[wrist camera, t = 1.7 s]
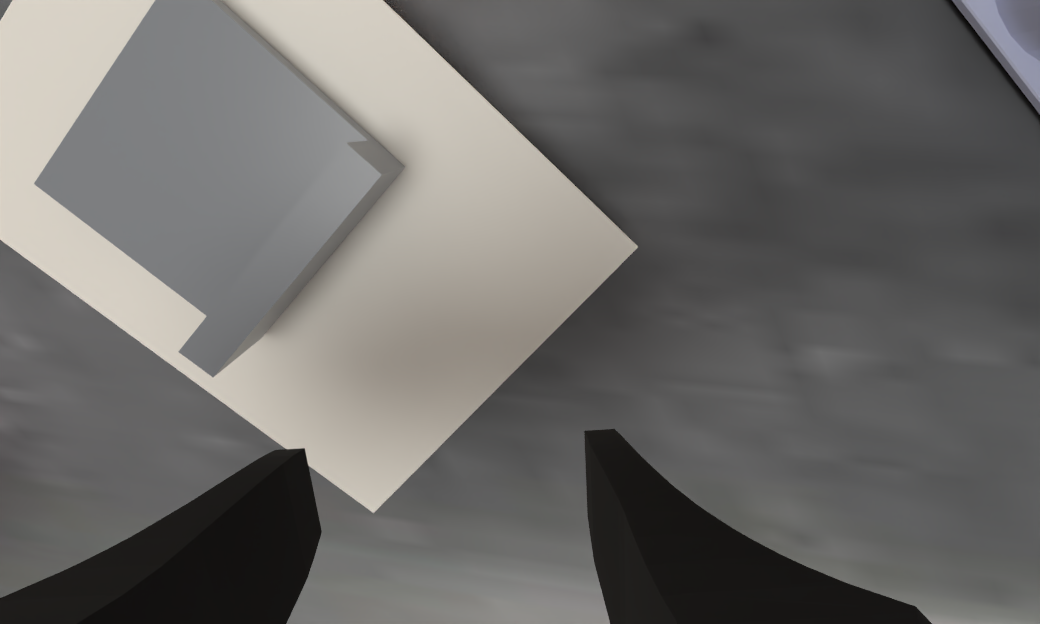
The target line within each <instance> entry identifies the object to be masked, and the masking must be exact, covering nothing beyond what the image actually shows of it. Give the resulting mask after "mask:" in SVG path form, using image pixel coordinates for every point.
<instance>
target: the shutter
mask: <svg viewBox="0 0 1040 624" xmlns="http://www.w3.org/2000/svg"><path fill="white" fill-rule="evenodd" d="M404 168H405V166H404V165H403V164H402V163H401V162H400V161H399V160H397V159H396V158H395V157H394V156H393V155H392V154H391V153H390V152H389V151H387V150H386V149H385V148H384V147H383V146H382V145H381V144H380V143H379V142H377V141H376V140H375V139H374V138H373V137H372V136H371V135H370V134H369V133H367V132H366V131H365V130H364V129H363V128H362V127H361V126H360V125H359V124H357V123H356V122H355V121H354V120H353V119H352V118H351V117H350V116H349V115H347V114H346V113H345V112H344V111H343V110H342V109H341V108H340V107H339V106H337V105H336V104H335V103H334V102H333V101H332V100H331V99H330V98H329V97H327V96H326V95H325V94H324V93H323V92H322V91H321V90H320V89H319V88H317V87H316V86H315V85H314V84H313V83H312V82H311V81H310V80H309V79H307V78H306V77H305V76H304V75H303V74H302V73H301V72H300V71H299V70H297V69H296V68H295V67H294V66H293V65H292V64H291V63H290V62H289V61H287V60H286V59H285V58H284V57H283V56H282V55H281V54H280V53H279V52H277V51H276V50H275V49H274V48H273V47H272V46H271V45H270V44H269V43H267V42H266V41H265V40H264V39H263V38H262V37H261V36H260V35H259V34H257V33H256V32H255V31H254V30H253V29H252V28H251V27H250V26H249V25H247V24H246V23H245V22H244V21H243V20H242V19H241V18H240V17H239V16H237V15H236V14H235V13H234V12H233V11H232V10H231V9H230V8H229V7H227V6H226V5H225V4H224V3H223V2H222V1H221V0H155V1H154V3H153V4H152V6H151V7H150V9H149V10H148V12H147V13H146V15H145V16H144V18H143V19H142V21H141V22H140V24H139V25H138V27H137V28H136V30H135V32H134V33H133V35H132V36H131V38H130V39H129V41H128V42H127V44H126V45H125V47H124V48H123V50H122V51H121V53H120V54H119V56H118V57H117V59H116V60H115V62H114V63H113V65H112V66H111V68H110V69H109V71H108V72H107V74H106V75H105V77H104V78H103V80H102V81H101V83H100V84H99V86H98V87H97V89H96V90H95V92H94V93H93V95H92V96H91V98H90V100H89V101H88V103H87V104H86V106H85V107H84V109H83V110H82V112H81V113H80V115H79V116H78V118H77V119H76V121H75V122H74V124H73V125H72V127H71V128H70V130H69V131H68V133H67V134H66V136H65V137H64V139H63V140H62V142H61V143H60V145H59V146H58V148H57V149H56V151H55V152H54V154H53V155H52V157H51V158H50V160H49V161H48V163H47V164H46V166H45V168H44V169H43V171H42V172H41V174H40V175H39V177H38V178H37V180H36V181H35V183H34V184H35V185H36V186H37V187H38V188H40V189H41V190H42V191H44V192H45V193H46V194H48V195H49V196H50V197H52V198H53V199H54V200H56V201H57V202H58V203H59V204H61V205H62V206H63V207H65V208H66V209H67V210H69V211H70V212H71V213H73V214H74V215H75V216H76V217H78V218H79V219H80V220H82V221H83V222H84V223H86V224H87V225H88V226H90V227H91V228H92V229H93V230H95V231H96V232H97V233H99V234H100V235H101V236H103V237H104V238H105V239H107V240H108V241H109V242H111V243H112V244H113V245H114V246H116V247H117V248H118V249H120V250H121V251H122V252H124V253H125V254H126V255H128V256H129V257H130V258H131V259H133V260H134V261H135V262H137V263H138V264H139V265H141V266H142V267H143V268H145V269H146V270H147V271H148V272H150V273H151V274H152V275H154V276H155V277H156V278H158V279H159V280H160V281H162V282H163V283H164V284H166V285H167V286H168V287H169V288H171V289H172V290H173V291H175V292H176V293H177V294H179V295H180V296H181V297H183V298H184V299H185V300H186V301H188V302H189V303H190V304H192V305H193V306H194V307H196V308H197V309H198V310H200V311H201V312H202V313H203V314H205V315H206V316H207V317H206V318H205V319H204V320H203V322H202V323H201V324H200V325H199V326H198V328H197V329H196V330H195V331H194V333H193V334H192V335H191V336H190V338H189V339H188V340H187V341H186V343H185V344H184V345H183V346H182V348H181V349H180V350H179V351H178V352H179V353H180V354H182V355H183V356H185V357H186V358H187V359H189V360H190V361H191V362H193V363H194V364H195V365H197V366H198V367H199V368H201V369H202V370H203V371H205V372H206V373H207V374H209V375H210V376H212V377H215V376H216V375H217V374H218V373H219V372H221V371H222V370H223V369H224V368H226V367H227V366H228V365H229V364H230V363H232V362H233V361H234V360H235V359H237V358H238V357H239V356H240V355H241V354H243V353H244V352H245V351H246V350H248V349H249V348H250V347H251V346H253V345H254V344H255V343H256V342H257V341H259V340H260V339H261V338H262V337H263V336H264V334H265V333H266V332H267V331H268V330H269V329H270V327H271V326H272V325H273V324H274V323H275V321H276V320H277V319H278V318H279V317H280V315H281V314H282V313H283V312H284V311H285V310H286V308H287V307H288V306H289V305H290V304H291V302H292V301H293V300H294V299H295V298H296V296H297V295H298V294H299V293H300V292H301V290H302V289H303V288H304V287H305V286H306V285H307V283H308V282H309V281H310V280H311V279H312V277H313V276H314V275H315V274H316V273H317V271H318V270H319V269H320V268H321V267H322V265H323V264H324V263H325V262H326V261H327V260H328V258H329V257H330V256H331V255H332V254H333V252H334V251H335V250H336V249H337V248H338V246H339V245H340V244H341V243H342V242H343V241H344V239H345V238H346V237H347V236H348V235H349V233H350V232H351V231H352V230H353V229H354V227H355V226H356V225H357V224H358V223H359V221H360V220H361V219H362V218H363V217H364V216H365V214H366V213H367V212H368V211H369V210H370V208H371V207H372V206H373V205H374V204H375V202H376V201H377V200H378V199H379V198H380V196H381V195H382V194H383V193H384V192H385V191H386V189H387V188H388V187H389V186H390V185H391V183H392V182H393V181H394V180H395V179H396V177H397V176H398V175H399V174H400V173H401V172H402V170H403V169H404Z"/></svg>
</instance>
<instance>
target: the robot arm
mask: <svg viewBox="0 0 1040 624" xmlns="http://www.w3.org/2000/svg"><path fill="white" fill-rule="evenodd" d="M952 1H953V2H954V4H955V5H956V6H957V8H958V9H959V10H960V12H961V13H962V14H963V15H964V17H965V18H966V19H967V21H968V22H969V23H970V24H971V26H972V27H973V28H974V30H975V31H976V32H977V34H978V35H979V36H980V37H981V39H982V40H983V41H984V43H985V44H986V45H987V47H988V48H989V49H990V50H991V52H992V53H993V54H994V56H995V57H996V58H997V59H998V61H999V62H1000V63H1001V65H1002V66H1003V67H1004V69H1005V70H1006V71H1007V72H1008V74H1009V75H1010V76H1011V78H1012V79H1013V80H1014V82H1015V83H1016V84H1017V85H1018V87H1019V88H1020V89H1021V91H1022V92H1023V93H1024V95H1025V96H1026V97H1027V98H1028V100H1029V101H1030V102H1031V104H1032V105H1033V106H1034V107H1035V109H1036V110H1037V111H1038V113H1039V114H1040V0H952ZM585 456H586V482H587V508H588V521H589V528H590V536H591V543H592V550H593V557H594V562H595V566H596V570H597V574H598V578H599V582H600V586H601V589H602V593H603V597H604V601H605V605H606V608H607V612H608V616H609V620H610V624H932V623H931V622H930V621H929V620H928V619H927V618H926V617H925V616H924V615H923V614H922V613H921V612H920V611H919V610H918V609H917V607H915V606H912V605H909V604H906V603H903V602H900V601H897V600H894V599H892V598H889V597H886V596H883V595H880V594H877V593H874V592H871V591H868V590H865V589H862V588H859V587H856V586H853V585H850V584H847V583H845V582H842V581H840V580H837V579H835V578H832V577H830V576H828V575H825V574H823V573H821V572H818V571H816V570H813V569H811V568H809V567H806V566H804V565H802V564H800V563H797V562H795V561H793V560H791V559H789V558H787V557H785V556H782V555H780V554H778V553H777V552H775V551H773V550H771V549H769V548H767V547H765V546H763V545H761V544H759V543H758V542H756V541H754V540H752V539H750V538H748V537H746V536H745V535H743V534H741V533H740V532H738V531H736V530H734V529H733V528H731V527H730V526H728V525H727V524H725V523H723V522H722V521H720V520H719V519H717V518H716V517H714V516H713V515H711V514H710V513H708V512H707V511H705V510H704V509H702V508H701V507H700V506H698V505H697V504H695V503H694V502H693V501H691V500H690V499H689V498H688V497H686V496H685V495H684V494H683V493H681V492H680V491H679V490H677V489H676V488H675V487H674V486H673V485H671V484H670V483H669V482H668V481H667V480H666V479H665V478H664V477H663V476H661V475H660V474H659V473H658V472H657V471H656V470H655V469H654V468H653V467H652V466H651V465H650V464H648V463H647V462H646V461H645V460H644V459H643V458H642V457H641V456H640V455H639V454H638V453H637V452H636V451H635V450H634V448H633V447H632V446H631V445H630V444H629V443H628V442H627V441H626V440H625V439H624V438H623V437H622V436H621V435H620V434H619V433H618V432H617V431H616V430H615V429H609V430H593V431H585ZM321 532H322V531H321V526H320V522H319V517H318V512H317V507H316V502H315V497H314V492H313V487H312V482H311V477H310V472H309V467H308V462H307V457H306V452H305V448H301V449H285V450H275V451H273V452H271V453H269V454H267V455H265V456H263V457H261V458H259V459H258V460H256V461H254V462H253V463H251V464H249V465H248V466H246V467H245V468H243V469H241V470H240V471H238V472H237V473H235V474H234V475H232V476H230V477H229V478H227V479H226V480H224V481H223V482H221V483H219V484H218V485H216V486H215V487H213V488H212V489H210V490H208V491H207V492H205V493H204V494H202V495H201V496H199V497H197V498H196V499H194V500H193V501H191V502H189V503H188V504H186V505H184V506H183V507H181V508H179V509H178V510H176V511H174V512H173V513H171V514H169V515H168V516H166V517H164V518H162V519H161V520H159V521H157V522H156V523H154V524H152V525H151V526H149V527H147V528H146V529H144V530H142V531H141V532H139V533H137V534H135V535H133V536H132V537H130V538H128V539H126V540H124V541H122V542H120V543H119V544H117V545H115V546H113V547H111V548H109V549H107V550H105V551H103V552H101V553H99V554H97V555H95V556H93V557H91V558H89V559H87V560H85V561H83V562H81V563H79V564H77V565H75V566H73V567H71V568H68V569H66V570H64V571H62V572H60V573H57V574H55V575H53V576H50V577H48V578H46V579H43V580H41V581H39V582H37V583H34V584H32V585H30V586H27V587H25V588H23V589H21V590H18V591H16V592H14V593H11V594H9V595H7V596H4V597H2V598H0V624H286V623H287V621H288V619H289V617H290V614H291V612H292V610H293V608H294V606H295V604H296V601H297V599H298V597H299V595H300V593H301V591H302V589H303V586H304V584H305V582H306V580H307V577H308V574H309V571H310V568H311V565H312V562H313V559H314V556H315V553H316V549H317V546H318V543H319V539H320V536H321Z"/></svg>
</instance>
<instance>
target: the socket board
mask: <svg viewBox="0 0 1040 624" xmlns="http://www.w3.org/2000/svg"><path fill="white" fill-rule="evenodd" d="M154 1H155V0H13V1H12V2H11V4H10V6H9V7H8V9H7V11H6V12H5V14H4V16H3V17H2V19H1V21H0V240H1V241H3V242H4V243H6V244H7V245H8V246H10V247H11V248H12V249H14V250H15V251H17V252H18V253H19V254H21V255H22V256H23V257H25V258H26V259H27V260H29V261H30V262H32V263H33V264H34V265H36V266H37V267H38V268H40V269H41V270H42V271H44V272H45V273H47V274H48V275H49V276H51V277H52V278H53V279H55V280H56V281H57V282H59V283H60V284H62V285H63V286H64V287H66V288H67V289H68V290H70V291H71V292H72V293H74V294H75V295H77V296H78V297H79V298H81V299H82V300H83V301H85V302H86V303H88V304H89V305H90V306H92V307H93V308H94V309H96V310H97V311H98V312H100V313H101V314H103V315H104V316H105V317H107V318H108V319H109V320H111V321H112V322H113V323H115V324H116V325H118V326H119V327H120V328H122V329H123V330H124V331H126V332H127V333H128V334H130V335H131V336H133V337H134V338H135V339H137V340H138V341H139V342H141V343H142V344H143V345H145V346H146V347H148V348H149V349H150V350H152V351H153V352H154V353H156V354H157V355H158V356H160V357H161V358H163V359H164V360H165V361H167V362H168V363H169V364H171V365H172V366H174V367H175V368H176V369H178V370H179V371H180V372H182V373H183V374H184V375H186V376H187V377H189V378H190V379H191V380H193V381H194V382H195V383H197V384H198V385H199V386H201V387H202V388H204V389H205V390H206V391H208V392H209V393H210V394H212V395H213V396H214V397H216V398H217V399H219V400H220V401H221V402H223V403H224V404H225V405H227V406H228V407H229V408H231V409H232V410H234V411H235V412H236V413H238V414H239V415H240V416H242V417H243V418H245V419H246V420H247V421H249V422H250V423H251V424H253V425H254V426H255V427H257V428H258V429H260V430H261V431H262V432H264V433H265V434H266V435H268V436H269V437H270V438H272V439H273V440H275V441H276V442H277V443H279V444H280V445H281V446H283V447H284V448H285V449H301V448H305V452H306V457H307V462H308V465H309V466H310V467H311V468H313V469H314V470H316V471H317V472H318V473H320V474H321V475H322V476H324V477H325V478H326V479H328V480H329V481H331V482H332V483H333V484H335V485H336V486H337V487H339V488H340V489H341V490H343V491H344V492H346V493H347V494H348V495H350V496H351V497H352V498H354V499H355V500H356V501H358V502H359V503H361V504H362V505H363V506H365V507H366V508H367V509H369V510H370V511H371V512H373V513H374V512H375V511H376V510H377V509H378V508H379V507H380V506H381V505H382V504H383V503H384V502H385V501H386V500H387V499H388V498H389V497H390V496H391V495H392V494H393V493H394V492H395V491H396V490H397V489H398V488H399V487H400V486H401V485H402V484H403V483H404V482H405V481H406V480H407V479H408V478H409V477H410V476H411V475H412V474H413V473H414V472H415V471H416V470H417V469H418V468H419V467H420V466H421V465H422V464H423V463H424V462H425V461H426V460H427V459H428V458H429V457H430V456H431V455H432V454H433V453H434V452H435V451H436V450H437V449H438V448H439V447H440V446H441V445H442V444H443V443H444V442H445V441H446V440H447V439H448V438H449V437H450V436H451V435H452V434H453V433H454V432H455V431H456V430H457V429H458V428H459V427H460V426H461V425H462V424H463V423H464V422H465V421H466V420H467V419H468V418H469V417H470V416H471V415H472V414H473V413H474V412H475V410H476V409H477V408H478V407H479V406H480V405H481V404H482V403H483V402H484V401H485V400H486V399H487V398H488V397H489V396H490V395H491V394H492V393H493V392H494V391H495V390H496V389H497V388H498V387H499V386H500V385H501V384H502V383H503V382H504V381H505V380H506V379H507V378H508V377H509V376H510V375H511V374H512V373H513V372H514V371H515V370H516V369H517V368H518V367H519V366H520V365H521V364H522V363H523V362H524V361H525V360H526V359H527V358H528V357H529V356H530V355H531V354H532V353H533V352H534V351H535V350H536V349H537V348H538V347H539V346H540V345H541V344H542V343H543V342H544V341H545V340H546V339H547V338H548V337H549V336H550V335H551V334H552V333H553V332H554V331H555V330H556V329H557V328H558V327H559V326H560V325H561V324H562V323H563V322H564V321H565V320H566V319H567V318H568V317H569V316H570V315H571V314H572V313H573V312H574V311H575V310H576V309H577V308H578V307H579V306H580V305H581V304H582V303H583V302H584V301H585V300H586V299H587V298H588V297H589V296H590V295H591V294H592V293H593V292H594V291H595V290H596V289H597V288H598V287H599V286H600V285H601V284H602V283H603V282H604V281H605V280H606V279H607V278H608V277H609V276H610V275H611V274H612V273H613V272H614V271H615V270H616V269H617V268H618V267H619V266H620V265H621V264H622V263H623V262H624V261H625V260H626V259H627V258H628V257H629V256H630V255H631V254H632V253H633V252H634V251H635V250H636V249H637V248H638V246H637V245H636V244H635V243H634V242H633V241H632V240H631V239H630V238H629V237H628V236H627V235H626V234H625V233H624V232H623V231H622V230H621V229H620V228H619V227H618V226H616V225H615V224H614V223H613V222H612V221H611V220H610V219H609V218H608V217H607V216H606V215H605V214H604V213H603V212H602V211H601V210H600V209H599V208H598V207H597V206H596V205H595V204H594V203H593V202H592V201H591V200H590V199H589V198H587V197H586V196H585V195H584V194H583V193H582V192H581V191H580V190H579V189H578V188H577V187H576V186H575V185H574V184H573V183H572V182H571V181H570V180H569V179H568V178H567V177H566V176H565V175H564V174H563V173H562V172H561V171H560V170H559V169H557V168H556V167H555V166H554V165H553V164H552V163H551V162H550V161H549V160H548V159H547V158H546V157H545V156H544V155H543V154H542V153H541V152H540V151H539V150H538V149H537V148H536V147H535V146H534V145H533V144H532V143H531V142H530V141H528V140H527V139H526V138H525V137H524V136H523V135H522V134H521V133H520V132H519V131H518V130H517V129H516V128H515V127H514V126H513V125H512V124H511V123H510V122H509V121H508V120H507V119H506V118H505V117H504V116H503V115H502V114H501V113H499V112H498V111H497V110H496V109H495V108H494V107H493V106H492V105H491V104H490V103H489V102H488V101H487V100H486V99H485V98H484V97H483V96H482V95H481V94H480V93H479V92H478V91H477V90H476V89H475V88H474V87H473V86H472V85H471V84H469V83H468V82H467V81H466V80H465V79H464V78H463V77H462V76H461V75H460V74H459V73H458V72H457V71H456V70H455V69H454V68H453V67H452V66H451V65H450V64H449V63H448V62H447V61H446V60H445V59H444V58H443V57H442V56H440V55H439V54H438V53H437V52H436V51H435V50H434V49H433V48H432V47H431V46H430V45H429V44H428V43H427V42H426V41H425V40H424V39H423V38H422V37H421V36H420V35H419V34H418V33H417V32H416V31H415V30H414V29H413V28H412V27H410V26H409V25H408V24H407V23H406V22H405V21H404V20H403V19H402V18H401V17H400V16H399V15H398V14H397V13H396V12H395V11H394V10H393V9H392V8H391V7H390V6H389V5H388V4H387V3H386V2H385V1H384V0H221V1H222V2H223V3H224V4H225V5H226V6H227V7H229V8H230V9H231V10H232V11H233V12H234V13H235V14H236V15H237V16H239V17H240V18H241V19H242V20H243V21H244V22H245V23H246V24H247V25H249V26H250V27H251V28H252V29H253V30H254V31H255V32H256V33H257V34H259V35H260V36H261V37H262V38H263V39H264V40H265V41H266V42H267V43H269V44H270V45H271V46H272V47H273V48H274V49H275V50H276V51H277V52H279V53H280V54H281V55H282V56H283V57H284V58H285V59H286V60H287V61H289V62H290V63H291V64H292V65H293V66H294V67H295V68H296V69H297V70H299V71H300V72H301V73H302V74H303V75H304V76H305V77H306V78H307V79H309V80H310V81H311V82H312V83H313V84H314V85H315V86H316V87H317V88H319V89H320V90H321V91H322V92H323V93H324V94H325V95H326V96H327V97H329V98H330V99H331V100H332V101H333V102H334V103H335V104H336V105H337V106H339V107H340V108H341V109H342V110H343V111H344V112H345V113H346V114H347V115H349V116H350V117H351V118H352V119H353V120H354V121H355V122H356V123H357V124H359V125H360V126H361V127H362V128H363V129H364V130H365V131H366V132H367V133H369V134H370V135H371V136H372V137H373V138H374V139H375V140H376V141H377V142H379V143H380V144H381V145H382V146H383V147H384V148H385V149H386V150H387V151H389V152H390V153H391V154H392V155H393V156H394V157H395V158H396V159H397V160H399V161H400V162H401V163H402V164H403V165H404V166H405V168H404V169H403V170H402V172H401V173H400V174H399V175H398V176H397V177H396V179H395V180H394V181H393V182H392V183H391V185H390V186H389V187H388V188H387V189H386V191H385V192H384V193H383V194H382V195H381V196H380V198H379V199H378V200H377V201H376V202H375V204H374V205H373V206H372V207H371V208H370V210H369V211H368V212H367V213H366V214H365V216H364V217H363V218H362V219H361V220H360V221H359V223H358V224H357V225H356V226H355V227H354V229H353V230H352V231H351V232H350V233H349V235H348V236H347V237H346V238H345V239H344V241H343V242H342V243H341V244H340V245H339V246H338V248H337V249H336V250H335V251H334V252H333V254H332V255H331V256H330V257H329V258H328V260H327V261H326V262H325V263H324V264H323V265H322V267H321V268H320V269H319V270H318V271H317V273H316V274H315V275H314V276H313V277H312V279H311V280H310V281H309V282H308V283H307V285H306V286H305V287H304V288H303V289H302V290H301V292H300V293H299V294H298V295H297V296H296V298H295V299H294V300H293V301H292V302H291V304H290V305H289V306H288V307H287V308H286V310H285V311H284V312H283V313H282V314H281V315H280V317H279V318H278V319H277V320H276V321H275V323H274V324H273V325H272V326H271V327H270V329H269V330H268V331H267V332H266V333H265V334H264V336H263V337H262V338H261V339H260V340H259V341H257V342H256V343H255V344H254V345H253V346H251V347H250V348H249V349H248V350H246V351H245V352H244V353H243V354H241V355H240V356H239V357H238V358H237V359H235V360H234V361H233V362H232V363H230V364H229V365H228V366H227V367H226V368H224V369H223V370H222V371H221V372H219V373H218V374H217V375H216V376H215V377H212V376H210V375H209V374H207V373H206V372H205V371H203V370H202V369H201V368H199V367H198V366H197V365H195V364H194V363H193V362H191V361H190V360H189V359H187V358H186V357H185V356H183V355H182V354H180V353H179V352H178V351H179V350H180V349H181V348H182V346H183V345H184V344H185V343H186V341H187V340H188V339H189V338H190V336H191V335H192V334H193V333H194V331H195V330H196V329H197V328H198V326H199V325H200V324H201V323H202V322H203V320H204V319H205V318H206V317H207V316H206V315H205V314H203V313H202V312H201V311H200V310H198V309H197V308H196V307H194V306H193V305H192V304H190V303H189V302H188V301H186V300H185V299H184V298H183V297H181V296H180V295H179V294H177V293H176V292H175V291H173V290H172V289H171V288H169V287H168V286H167V285H166V284H164V283H163V282H162V281H160V280H159V279H158V278H156V277H155V276H154V275H152V274H151V273H150V272H148V271H147V270H146V269H145V268H143V267H142V266H141V265H139V264H138V263H137V262H135V261H134V260H133V259H131V258H130V257H129V256H128V255H126V254H125V253H124V252H122V251H121V250H120V249H118V248H117V247H116V246H114V245H113V244H112V243H111V242H109V241H108V240H107V239H105V238H104V237H103V236H101V235H100V234H99V233H97V232H96V231H95V230H93V229H92V228H91V227H90V226H88V225H87V224H86V223H84V222H83V221H82V220H80V219H79V218H78V217H76V216H75V215H74V214H73V213H71V212H70V211H69V210H67V209H66V208H65V207H63V206H62V205H61V204H59V203H58V202H57V201H56V200H54V199H53V198H52V197H50V196H49V195H48V194H46V193H45V192H44V191H42V190H41V189H40V188H38V187H37V186H36V185H35V184H34V183H35V181H36V180H37V178H38V177H39V175H40V174H41V172H42V171H43V169H44V168H45V166H46V164H47V163H48V161H49V160H50V158H51V157H52V155H53V154H54V152H55V151H56V149H57V148H58V146H59V145H60V143H61V142H62V140H63V139H64V137H65V136H66V134H67V133H68V131H69V130H70V128H71V127H72V125H73V124H74V122H75V121H76V119H77V118H78V116H79V115H80V113H81V112H82V110H83V109H84V107H85V106H86V104H87V103H88V101H89V100H90V98H91V96H92V95H93V93H94V92H95V90H96V89H97V87H98V86H99V84H100V83H101V81H102V80H103V78H104V77H105V75H106V74H107V72H108V71H109V69H110V68H111V66H112V65H113V63H114V62H115V60H116V59H117V57H118V56H119V54H120V53H121V51H122V50H123V48H124V47H125V45H126V44H127V42H128V41H129V39H130V38H131V36H132V35H133V33H134V32H135V30H136V28H137V27H138V25H139V24H140V22H141V21H142V19H143V18H144V16H145V15H146V13H147V12H148V10H149V9H150V7H151V6H152V4H153V3H154Z"/></svg>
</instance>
